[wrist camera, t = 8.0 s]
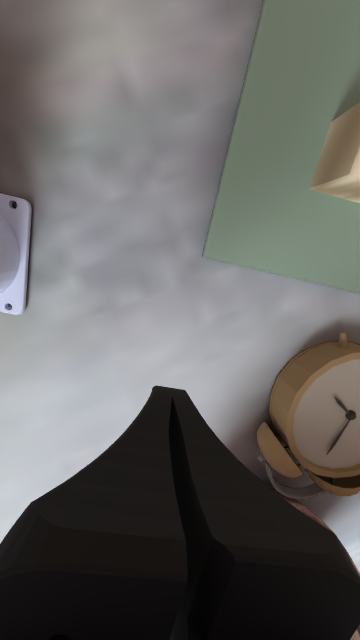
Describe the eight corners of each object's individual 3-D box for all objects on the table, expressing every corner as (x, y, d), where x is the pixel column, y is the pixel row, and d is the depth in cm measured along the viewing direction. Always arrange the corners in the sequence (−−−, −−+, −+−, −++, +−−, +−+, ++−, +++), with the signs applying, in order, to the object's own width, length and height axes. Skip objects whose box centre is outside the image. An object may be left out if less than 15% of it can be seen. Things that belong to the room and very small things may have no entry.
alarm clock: (447, 381, 21) (359, 541, 21) (389, 363, 25) (319, 494, 26) (338, 323, 18) (245, 503, 19) (297, 316, 23) (225, 459, 24)
